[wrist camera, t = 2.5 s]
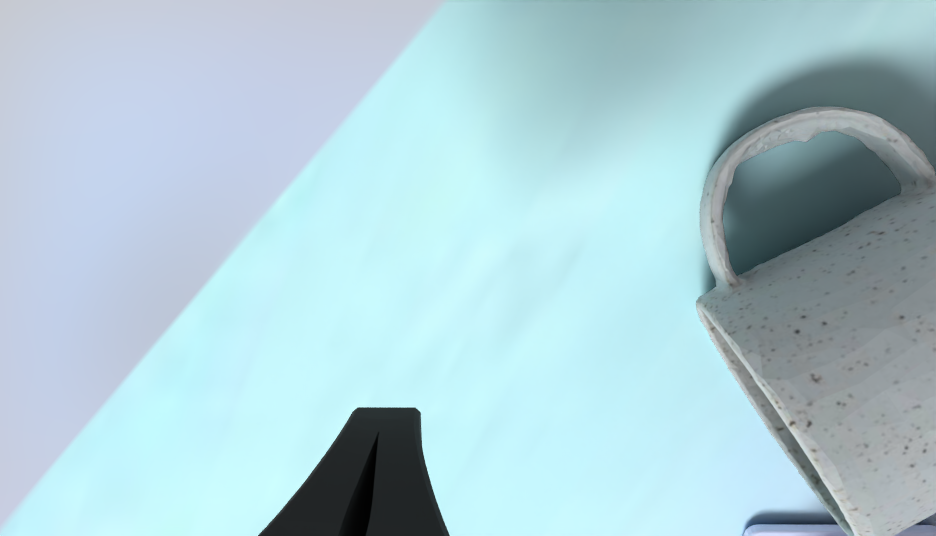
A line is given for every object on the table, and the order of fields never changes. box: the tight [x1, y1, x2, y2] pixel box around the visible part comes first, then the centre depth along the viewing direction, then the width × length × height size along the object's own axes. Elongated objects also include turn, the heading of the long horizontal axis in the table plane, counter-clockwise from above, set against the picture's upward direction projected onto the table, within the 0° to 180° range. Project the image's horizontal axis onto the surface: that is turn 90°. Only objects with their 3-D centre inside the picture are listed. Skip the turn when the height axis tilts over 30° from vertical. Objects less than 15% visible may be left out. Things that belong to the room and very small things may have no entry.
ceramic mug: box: [696, 107, 936, 536], centre depth 16 cm, size 11×8×8 cm
